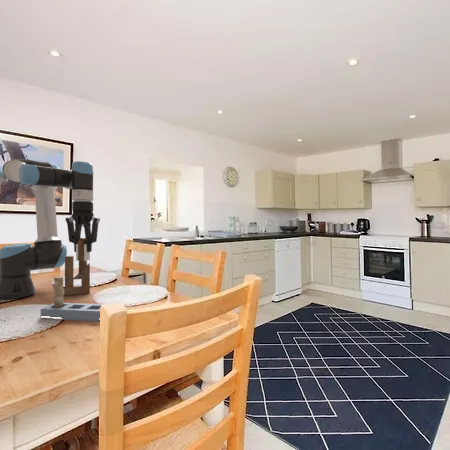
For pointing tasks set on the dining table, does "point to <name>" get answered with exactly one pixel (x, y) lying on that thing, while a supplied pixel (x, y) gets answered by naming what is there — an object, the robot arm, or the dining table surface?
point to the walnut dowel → (82, 257)
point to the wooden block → (69, 272)
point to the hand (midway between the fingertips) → (82, 260)
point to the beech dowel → (58, 292)
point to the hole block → (73, 311)
